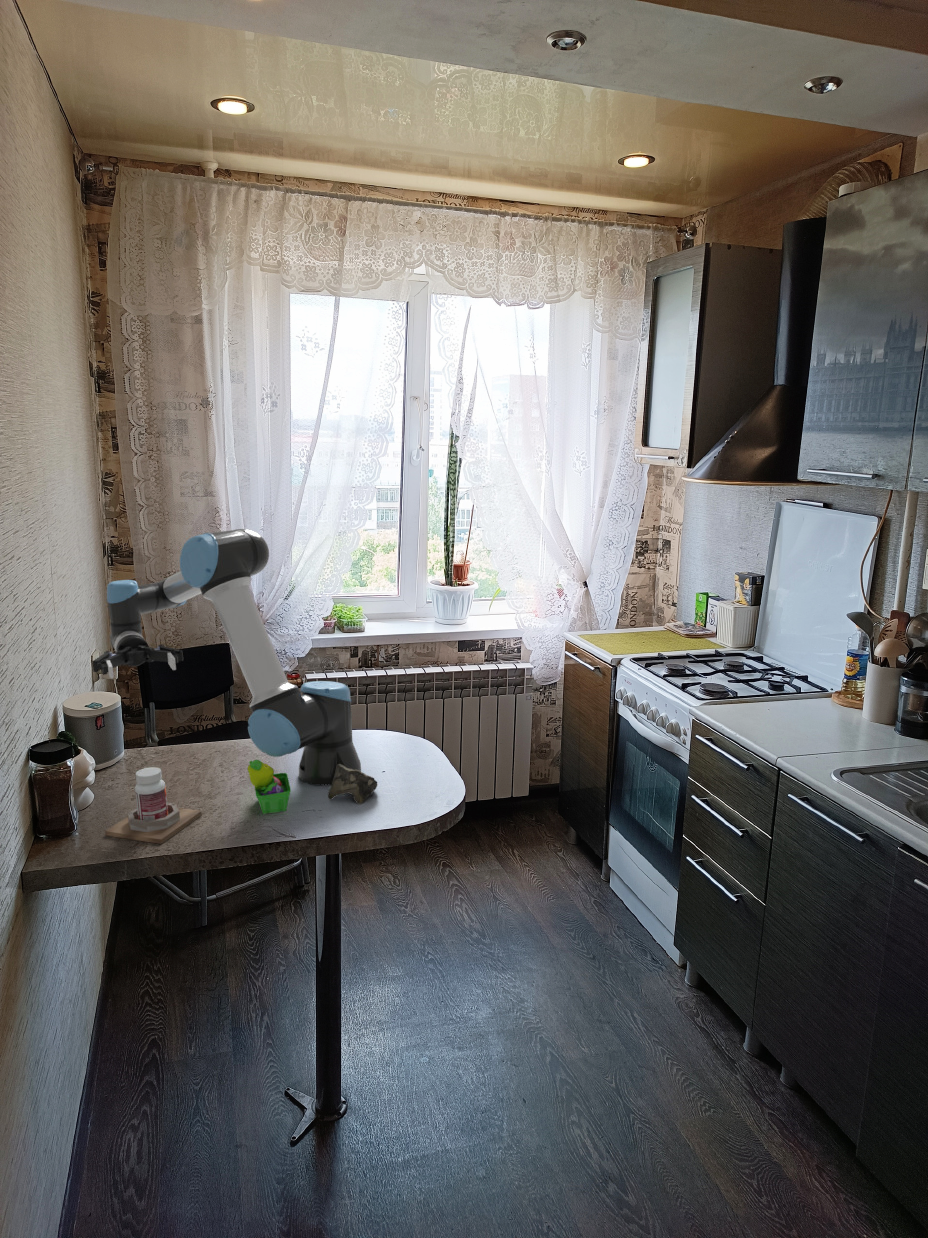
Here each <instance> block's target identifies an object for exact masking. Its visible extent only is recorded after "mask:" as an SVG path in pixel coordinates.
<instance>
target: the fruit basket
mask: <svg viewBox="0 0 928 1238" xmlns="http://www.w3.org/2000/svg"><path fill="white" fill-rule="evenodd" d="M248 763H249V764H248V766H247V772H248V774H249V775H248V777H249V780H250V783H251V785H253V786H254V791H255V797H256V799H257V800H258V804H259V806H260V810H261V812H262V814H263V815H266V814H274V813H279V812H286V811H287V809H288V803H289V798H290V795H291V792H292V790H291V785H290V780H289V775H288V773H286V772H280V773H275V770H274V768H273V767H272V766H270V765H269V764H266V763H265V762H263V761H261V760H259V759H254V760H250V761H248Z"/></svg>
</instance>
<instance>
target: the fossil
mask: <svg viewBox="0 0 928 1238" xmlns="http://www.w3.org/2000/svg"><path fill="white" fill-rule="evenodd" d="M377 787H378V781H377V780H376V779H375V777H373V776H371V775H367V774H365V773H364V772H362V771H361V772H360V771H359V770H353V769H351V768H346V767H345V766H343V765H341V764H337V767H336V770H335V774H334V778H333V782H332V785H330V788H329V791H328V792H327V798H328V800H334V798H335V797H337V796H339V795H340V796H343V795H345V794H350V795H352V796H353V800H354V801H355V802H356V804H358V805H362V804H363V803H364V802H365V801H366V799H367V798H368V797H369V796H372V794H373V792H374V791H376V789H377Z"/></svg>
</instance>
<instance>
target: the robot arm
mask: <svg viewBox="0 0 928 1238" xmlns="http://www.w3.org/2000/svg"><path fill="white" fill-rule="evenodd" d="M269 557H270V550H269V546H268V544H267V541H266V540H265V539H264V537H263V536H261V535H260V534H259V533H258V532H256V531H254V530H251V529H245V528H238V529H232V530H231V529H230V530H223V531H216V532H204V533H202V534H199V535H198V534H197V535H194V536H192V537H190V538H188V539H187V540H186V541H185V543H184V544H183V546H182V547H181V552H180V556H179V568H180V571H178V572H176V573H174V574H172V575H170V576H167V578H164V579H162V580H160V581H158V582H157V581H156V582H154V583H153V582H151V583H149V584H147V583H146V584H140V585H138V583H137V582H138V581H136V580H133V579H121V580H114V581H110V582H109V583H108V584H107V586H106V602H107V605H108V614H109V619H110V621H109V626H110V637H109V638H110V645H111V646H112V648H113V649H114V650H115V653H113V652H112V651H109V650H106V651H104V653H103V654H101V655H100V656H98V657H97V658H96V659H93V660H92V664H91V665H92V671H93V673H97V672H99V671H101V674H102V675H103V676H105V675H108V676H109V679H114V678H115V677H114V669H115V668H116V667H119V666H129V667H138V666H141V665H143V664H144V663H146V662H147V663H153V662H164V663H168V665H169V667H170V669H172V671H176V670H177V665H176V664H178V663H179V662H183V661H184V655H183V649H177V648H174V647H169V646H165V645H163V644H159V645H158V646H157V647H156V648H155V647H151V646H149V644H148V642H147V640H146V639H145V638H144V637H143V629H142V627H143V626H142V617H141V616H142V615H145V614H149V613H153V612H154V613H155V612H158V611H163V610H168V609H175V608H178V607H181V606H183V605H185V604H186V603H187V600H190V599H192V598H195V597H197V596H199V595H200V594H202V597H203V599H206V600H208V601H211V602H212V603H213V605H214V607H215V611H216V613H217V615H218V617H219V620H220V623H221V624H222V627H223V629H224V631H225V633H226V634H225V635H226V636H227V639H228V640H229V643H230V646H231V648H232V650H233V653H234V655H235V658H236V660H237V662H238V665H239V667H240V669H241V672H242V675H243V677H244V679H245V681H246V684H247V686H248V688H249V690H250V693H251V695H252V700H251V702H250V704H249V708H250V711H251V714H250V716H249V718H248V720H247V724H248V725H247V730H248V734H249V735H248V736H249V737H250V739H251V742H252V743H253V744H254V746H255V747H256V748H257V749H258V750H259V751H260V752H262V753H264V754H266V755H268V756H270V757H274V758H279V757H283V756H286V755H291V754H294V753H295V752H297V751H298V750H300V749H303V750H302V754H301V758H300V762H299V764H298V765H299V766H298V777H299V779H300V780H301V781H302V782H305V783H307V784H310V785H315V786H331V785H332V782H333V778H334V774H335V770H336V767H337V764H341V765H343V766H345V767H346V768H351V769H353V770H359V771H360V772H362V765H361V760H360V757H359V754H358V753H357V750H356V747H355V745H354V741H353V723H352V722H353V721H352V699H351V690H350V688H349V687H348V686H347V685H346V684H345V683H341V682H337V681H329V680H326V681H324V680H316V681H308V682H304V683H303V684H302V685H301V686H300V689H299V687H298V685H296V684H292V683H290V682H289V680H288V679H287V676H286V673H285V671H284V669H283V666H282V664H281V662H280V659H279V657H278V654H277V652H276V650H275V648H274V645H273V643H272V641H271V638H270V636H269V633H268V632H267V629H266V627H265V624H264V621H263V619H262V617H261V615H260V612H259V610H258V607H257V605H256V603H255V600H254V599H253V596H252V593H251V591H250V589H249V587H250V584H251V582H252V576H255V575H258V574H259V573H261V572H262V571H263V570H264V569H265V568H266V567H267V565H268V563H269V559H270V558H269Z"/></svg>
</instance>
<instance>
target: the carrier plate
mask: <svg viewBox="0 0 928 1238" xmlns="http://www.w3.org/2000/svg"><path fill="white" fill-rule="evenodd" d="M167 805H168V816H166V817H165V818H160V819H155V820H151V821H144V820H138V813H137V807H136V808H134V809H132V810H131V811H129V812H127V816H125V818H123V819H122V820H120V821H119V822H117V823H115V824H114V825H112V826H111V827H109V828H108V829H106V830H105V831H104V833H105V834H104V835H105V836H107V837H114V838H120V839H121V838H122V839H128V840H132V841H133V840H134V841H140V842H148V843H153V844H160V845H162V844H163V843H165V842H166V841H168V840H169V839H171V838H172V837H174V836H175V835H176V834H178V833H179V832H181V831H182V830H183V829H185V827H188V826H189V825H191V824H192V823H193V822H194V821H196V820H197V819H198V818H200V817H201V816H202V815H203V814H202V811H201V810H195V809H189V808H182V807H178V806H177V805H178V804H177V803H173V802H167Z"/></svg>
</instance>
